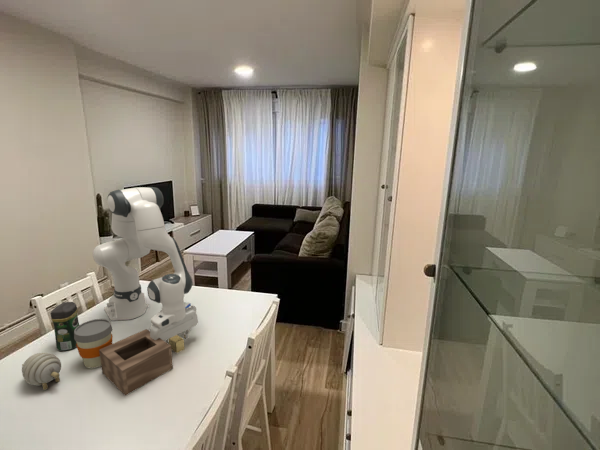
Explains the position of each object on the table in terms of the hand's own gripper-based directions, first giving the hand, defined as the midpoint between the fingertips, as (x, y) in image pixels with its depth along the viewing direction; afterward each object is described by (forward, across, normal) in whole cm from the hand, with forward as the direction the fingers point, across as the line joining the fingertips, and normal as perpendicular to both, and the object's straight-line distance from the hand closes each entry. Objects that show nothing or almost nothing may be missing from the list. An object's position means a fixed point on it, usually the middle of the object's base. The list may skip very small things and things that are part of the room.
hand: (176, 342), depth 136 cm
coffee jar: (+3, +27, -37) cm, 46 cm away
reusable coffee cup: (+3, +24, -17) cm, 30 cm away
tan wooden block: (+3, 0, 0) cm, 3 cm away
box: (+3, +17, +1) cm, 17 cm away
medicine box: (+3, -14, -16) cm, 22 cm away
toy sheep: (+3, +41, -18) cm, 45 cm away
